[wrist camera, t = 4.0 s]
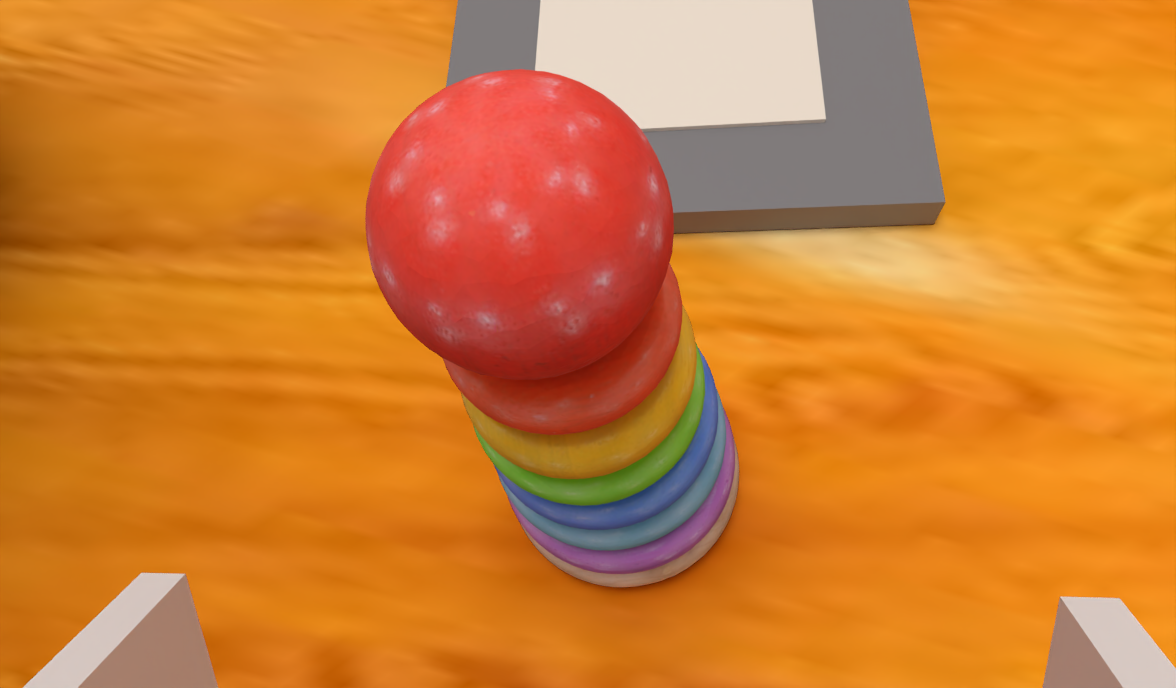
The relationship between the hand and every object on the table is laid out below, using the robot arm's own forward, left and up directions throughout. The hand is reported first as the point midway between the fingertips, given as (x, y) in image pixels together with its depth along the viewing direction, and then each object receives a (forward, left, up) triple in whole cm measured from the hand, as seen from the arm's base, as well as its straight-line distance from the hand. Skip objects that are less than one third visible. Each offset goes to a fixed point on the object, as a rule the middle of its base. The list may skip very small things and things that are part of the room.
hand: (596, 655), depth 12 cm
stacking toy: (-1, +7, -15) cm, 16 cm away
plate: (+1, +26, -14) cm, 30 cm away
